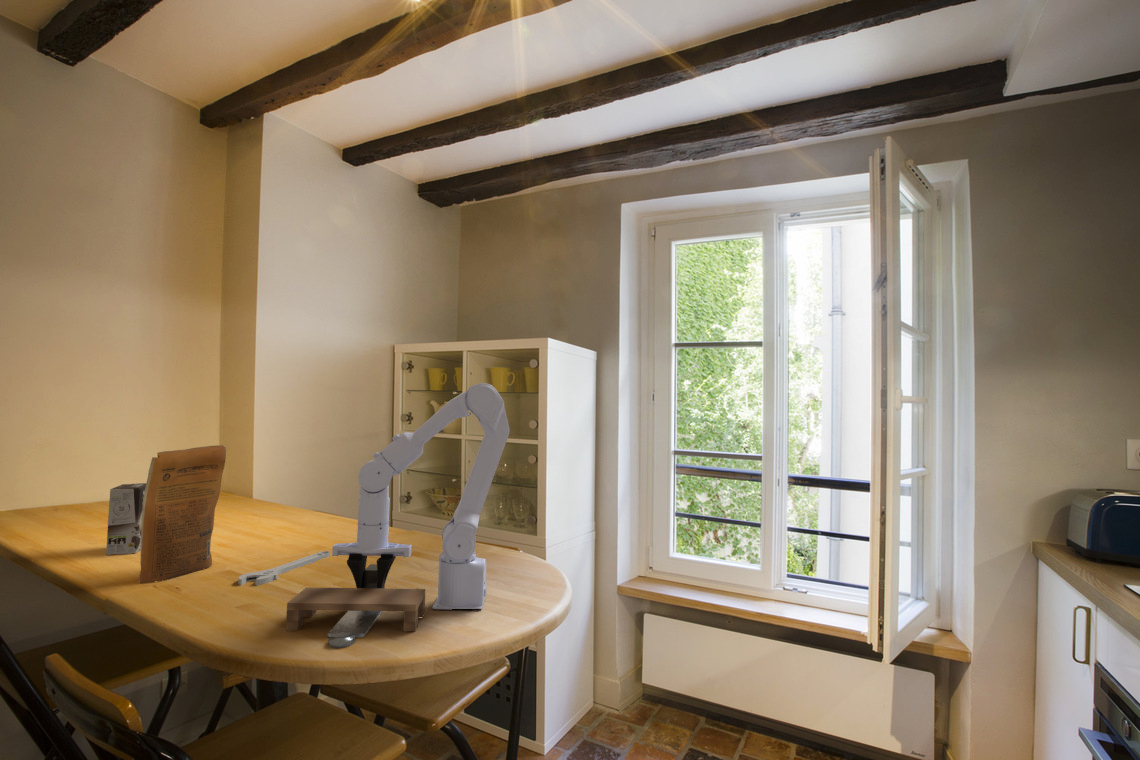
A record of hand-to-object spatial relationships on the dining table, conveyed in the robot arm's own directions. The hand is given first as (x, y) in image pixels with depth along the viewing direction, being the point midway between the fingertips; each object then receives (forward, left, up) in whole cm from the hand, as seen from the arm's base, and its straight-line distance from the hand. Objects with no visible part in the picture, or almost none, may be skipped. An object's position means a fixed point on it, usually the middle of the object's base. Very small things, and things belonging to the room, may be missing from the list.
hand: (370, 593), depth 109 cm
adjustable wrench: (+25, -23, -3) cm, 34 cm away
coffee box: (+71, -37, -3) cm, 80 cm away
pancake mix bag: (+47, -19, -3) cm, 51 cm away
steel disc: (0, +16, -3) cm, 16 cm away
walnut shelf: (0, +7, -3) cm, 8 cm away
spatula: (0, +5, -3) cm, 5 cm away
